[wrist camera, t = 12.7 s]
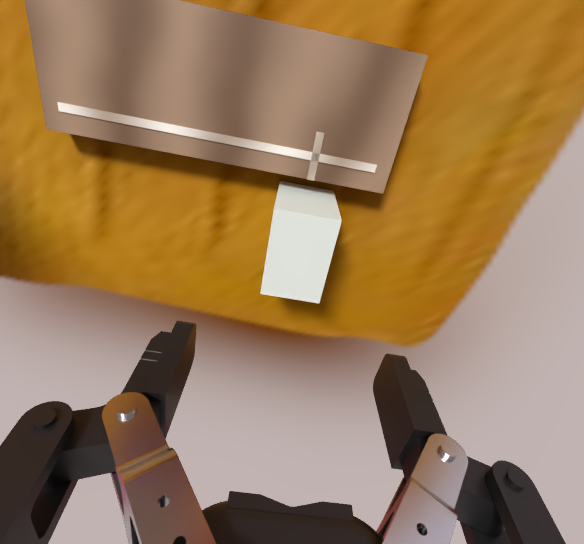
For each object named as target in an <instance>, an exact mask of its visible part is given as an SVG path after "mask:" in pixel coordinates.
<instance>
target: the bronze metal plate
mask: <svg viewBox="0 0 584 544" xmlns="http://www.w3.org/2000/svg"><path fill="white" fill-rule="evenodd" d="M25 4H26V10H27V16H28V22H29V28H30V34H31V40H32V46H33V52H34V57H35V63H36V69H37V75H38V81H39V87H40V93H41V99H42V105H43V111H44V117H45V123H46V129H48V130H53V131H58V132H64V133H69V134H74V135H79V136H84V137H90V138H95V139H100V140H105V141H110V142H116V143H121V144H126V145H131V146H137V147H142V148H147V149H152V150H157V151H163V152H168V153H173V154H178V155H184V156H189V157H194V158H199V159H204V160H210V161H215V162H220V163H225V164H231V165H236V166H241V167H246V168H251V169H257V170H262V171H267V172H272V173H278V174H283V175H288V176H293V177H298V178H304V179H307V180H312V181H319V182H325V183H330V184H335V185H340V186H345V187H351V188H356V189H361V190H366V191H372V192H377V193H382V194H383V193H384V190H385V187H386V184H387V180H388V177H389V174H390V171H391V168H392V165H393V162H394V159H395V156H396V153H397V150H398V147H399V143H400V140H401V137H402V134H403V131H404V128H405V125H406V122H407V119H408V116H409V113H410V110H411V106H412V103H413V100H414V97H415V94H416V91H417V88H418V85H419V82H420V79H421V76H422V73H423V69H424V66H425V63H426V60H427V57H428V55H424V54H420V53H415V52H411V51H406V50H401V49H397V48H392V47H388V46H383V45H379V44H374V43H370V42H365V41H361V40H356V39H352V38H347V37H343V36H338V35H334V34H329V33H325V32H320V31H316V30H311V29H307V28H302V27H298V26H293V25H289V24H284V23H280V22H275V21H271V20H266V19H262V18H257V17H253V16H248V15H244V14H239V13H235V12H230V11H226V10H221V9H217V8H212V7H208V6H203V5H198V4H194V3H189V2H185V1H180V0H25Z"/></svg>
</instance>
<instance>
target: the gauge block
mask: <svg viewBox="0 0 584 544" xmlns="http://www.w3.org/2000/svg"><path fill="white" fill-rule="evenodd" d="M341 222H342V220H341V216H340V212H339V209H338V205H337V201H336V198H335V194H334V191H331V190H326V189H321V188H316V187H310V186H305V185H300V184H294V183H289V182H284V181H280V183H279V188H278V193H277V197H276V202H275V206H274V212H273V218H272V224H271V231H270V237H269V243H268V249H267V255H266V261H265V268H264V274H263V280H262V286H261V292H260V294H265V295H271V296H277V297H283V298H289V299H295V300H301V301H307V302H313V303H320V299H321V295H322V292H323V288H324V284H325V281H326V277H327V273H328V270H329V266H330V262H331V259H332V255H333V251H334V248H335V244H336V240H337V237H338V233H339V229H340V226H341Z"/></svg>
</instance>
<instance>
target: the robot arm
mask: <svg viewBox="0 0 584 544" xmlns="http://www.w3.org/2000/svg"><path fill="white" fill-rule="evenodd" d="M195 339H196V324H195V323H189V322H182V321H177V322H176V324H175V326H174V328H173V330H172V332H171V333H169V332H162V331H161V332H160V333H159V334H157V335H156V336H155V337H154V338H152V339H151V341H150V342H149V344H148V346H147V348H146V350H145V352H144V353H143V355H142V357H141V360H140V361H139V363H138V365H137V366H136V368H135V370H134V372H133V373H132V375H131V377H130V379H129V381H128V382H127V384H126V386H125V388H124V390H123V391H122V393H121V394H120V395H117V396H116V397H114V398H112V399H111V400H110V401H109V402H108V403H107V404H106V405H104V406H101V407H97V408H91V409H85V410H77V411H72V409H71V407H70V406H69V405H67V404H66V403H63V402H58V401H52V402H46V403H42V404H40V405H37V406H35V407H33V408H32V409H30V410H29V411H27V412H26V413H25V414H24V415H23V416H22V417H21V418H20V419H19V421H18V422H17V424H16V425H15V426H14V428H13V429H12V430H11V432H10V433H9V435H8V436H7V437H6V439H5V440H4V442H3V443H2V444H1V446H0V544H48V542H49V540H50V538H51V536H52V534H53V532H54V530H55V528H56V525H57V523H58V521H59V519H60V517H61V515H62V513H63V511H64V508H65V506H66V504H67V502H68V500H69V498H70V496H71V494H72V492H73V489H74V488H75V485H76V483H77V481H78V479H82V478H87V477H92V476H96V475H101V474H106V473H111V477H112V480H113V484H114V487H115V491H116V494H117V498H118V501H119V505H120V509H121V512H122V516H123V519H124V524H125V528H126V533H127V538H128V542H129V544H450V541H451V537H452V534H453V531H454V527H455V523H456V520H459V521H460V523H461V526H462V530H463V533H464V536H465V539H466V542H467V544H566V543H565V542H564V540H563V538H562V536H561V534H560V532H559V530H558V528H557V527H556V525H555V523H554V521H553V519H552V517H551V515H550V513H549V511H548V509H547V508H546V506H545V504H544V502H543V500H542V498H541V496H540V494H539V493H538V491H537V489H536V487H535V485H534V483H533V482H532V480H531V479H530V477H529V476H528V475H527V474H526V473H525V472H524V471H523V470H522V469H520V468H519V467H517V466H516V465H514V464H512V463H510V462H507V461H497V462H496V463H494V464H493V466H492V467H490V466H488V465H486V464H483V463H481V462H479V461H476V460H474V459H472V458H470V457H468V456H467V455H466V453H465V451H464V449H463V448H462V447H461V446H460V445H459V443H457V442H456V441H455V440H454V439H452V438H450V437H449V436H447V434H446V432H445V429H444V426H443V424H442V422H441V419H440V417H439V414H438V412H437V410H436V407H435V405H434V403H433V400H432V398H431V395H430V394H429V391H428V388H427V386H426V383H425V381H424V380H423V378H422V377H421V376H420V375H419V374H418V372H416V370H411V369H410V367H409V364H408V362H407V359H406V358H405V357H404V356H398V355H393V354H386V355H385V357H384V358H383V361H382V363H381V365H380V368H379V370H378V372H377V374H376V376H375V379H374V383H373V392H374V397H375V401H376V405H377V409H378V414H379V417H380V422H381V426H382V430H383V434H384V438H385V442H386V447H387V451H388V455H389V459H390V463H391V467H392V468H394V469H401V470H403V473H404V478H403V479H402V481H401V483H400V485H399V487H398V489H397V491H396V493H395V495H394V497H393V499H392V502H391V504H390V506H389V508H388V510H387V512H386V514H385V516H384V518H383V520H382V522H381V524H380V525H379V527H378V529H377V531H375V530H374V529H372V528H371V527H370V526H369V525H367V524H366V523H365V522H363V521H361V520H360V519H358V518H356V517H354V516H353V512H352V505H347V504H339V503H329V502H318V503H313V504H308V505H302V506H297V507H289V506H287V505H284V504H282V503H279V502H277V501H274V500H272V499H270V498H267V497H265V496H262V495H260V494H251V493H242V492H234V491H230V492H229V498H228V501H224V502H220V503H217V504H214V505H212V506H210V507H208V508H205V509H204V510H201V508H200V506H199V503H198V501H197V499H196V496H195V495H194V492H193V490H192V487H191V485H190V483H189V481H188V478H187V476H186V474H185V471H184V469H183V467H182V464H181V462H180V460H179V458H178V455H177V453H176V452H175V450H174V449H173V448H171V449H170V448H169V446H168V445H167V442H166V440H165V439H166V436H167V433H168V430H169V428H170V425H171V422H172V419H173V416H174V413H175V411H176V408H177V405H178V402H179V399H180V397H181V394H182V391H183V388H184V386H185V383H186V380H187V377H188V375H189V372H190V369H191V366H192V363H193V359H194V353H195Z"/></svg>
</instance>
